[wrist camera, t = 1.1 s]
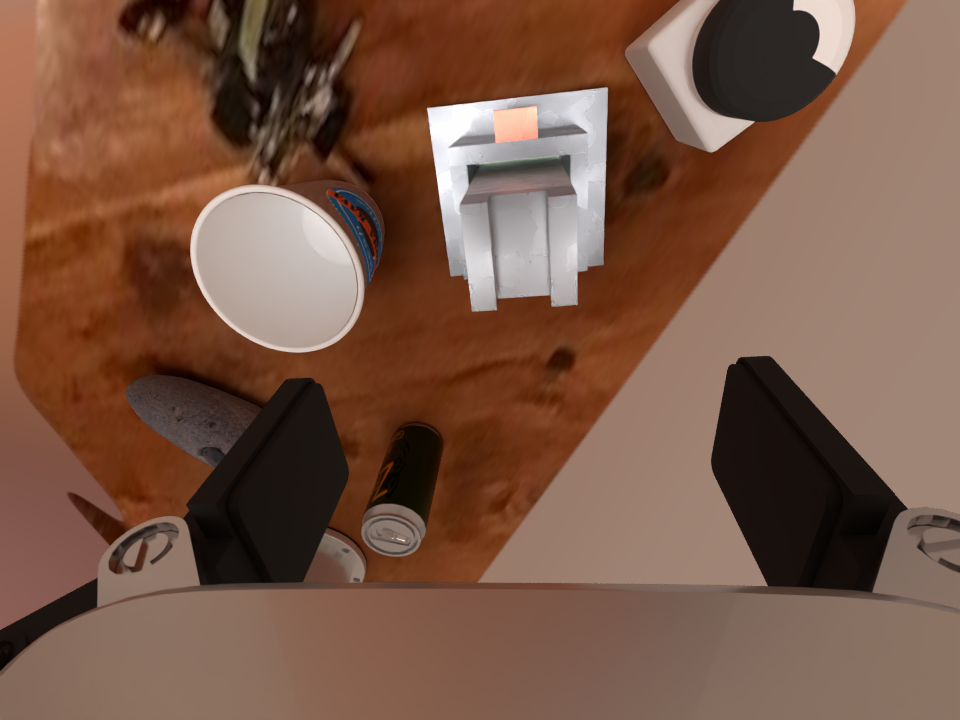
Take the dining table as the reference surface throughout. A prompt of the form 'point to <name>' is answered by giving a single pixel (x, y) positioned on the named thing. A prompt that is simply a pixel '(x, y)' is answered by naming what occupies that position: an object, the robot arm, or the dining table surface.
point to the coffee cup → (288, 260)
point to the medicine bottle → (739, 62)
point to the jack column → (520, 232)
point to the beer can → (403, 491)
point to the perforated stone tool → (191, 414)
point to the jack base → (524, 156)
